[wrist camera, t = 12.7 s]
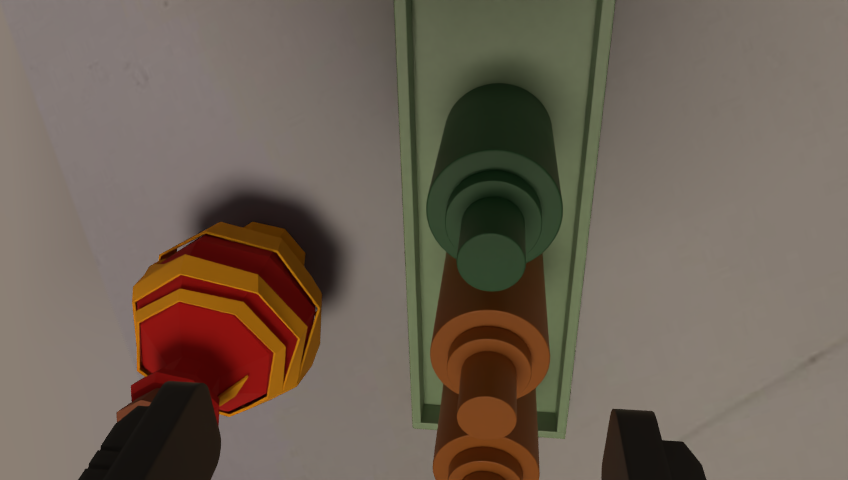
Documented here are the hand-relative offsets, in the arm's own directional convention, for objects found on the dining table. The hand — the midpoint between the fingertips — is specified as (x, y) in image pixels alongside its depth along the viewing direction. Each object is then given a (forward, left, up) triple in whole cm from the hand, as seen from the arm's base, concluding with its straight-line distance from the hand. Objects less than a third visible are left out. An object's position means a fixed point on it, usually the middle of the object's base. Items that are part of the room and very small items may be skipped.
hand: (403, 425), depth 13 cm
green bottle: (+4, -1, -25) cm, 25 cm away
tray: (+8, -6, -25) cm, 27 cm away
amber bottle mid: (+9, -7, -25) cm, 27 cm away
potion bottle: (0, -18, -26) cm, 31 cm away
